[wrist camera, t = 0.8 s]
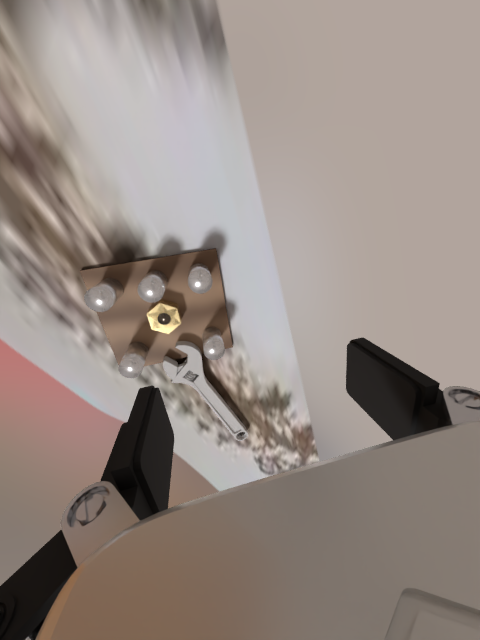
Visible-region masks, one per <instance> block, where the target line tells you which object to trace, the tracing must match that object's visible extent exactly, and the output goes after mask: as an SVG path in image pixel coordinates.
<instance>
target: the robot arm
mask: <svg viewBox="0 0 480 640" xmlns="http://www.w3.org/2000/svg"><path fill="white" fill-rule="evenodd" d="M346 389H347V392H348V394H349V395H350V396H351V397H352V398H353V399H354V400H355V401H356V402H357V403H358V404H359V405H360V407H361V408H362V409H363V410H364V411H365V412H367V414H368V415H369V416H370V417H371V418H372V419H373V420H374V421H375V422H376V423H377V424H378V425H379V426H380V427H381V428H382V429H383V430H384V431H385V432H386V433H387V434H388V435H389V436H390V437H391V438H392V439H393V441H390V442H386V443H383V444H379V445H376V446H372V447H369V448H365V449H362V450H358V451H355V452H352V453H348V454H345V455H342V456H338V457H334V458H331V459H328V460H324V461H321V462H317V463H314V464H310V465H307V466H304V467H300V468H297V469H293V470H290V471H287V472H283V473H280V474H277V475H273V476H270V477H267V478H263V479H260V480H257V481H253V482H250V483H247V484H243V485H240V486H237V487H233V488H230V489H227V490H223V491H220V492H217V493H214V494H211V495H208V496H205V497H202V498H198V499H195V500H192V501H189V502H186V503H182V504H180V505H177V506H174V507H172V508H169V509H168V499H169V489H170V478H171V468H172V457H173V446H174V433H173V430H172V427H171V424H170V421H169V418H168V414H167V411H166V408H165V405H164V402H163V399H162V396H161V393H160V390H159V388H154V386H148V387H144V388H140V389H139V391H138V394H137V397H136V400H135V402H134V405H133V408H132V411H131V414H130V417H129V420H128V422H126V423H124V424H122V426H121V428H120V431H119V433H118V436H117V439H116V441H115V444H114V447H113V449H112V452H111V454H110V457H109V460H108V462H107V465H106V468H105V470H104V473H103V476H102V478H101V481H100V482H96V483H94V484H92V485H90V486H88V487H86V488H85V489H83V490H82V491H81V492H79V493H78V494H77V495H76V496H75V497H74V498H73V499H72V501H71V502H70V503H69V505H68V506H67V507H66V509H65V511H64V513H63V515H62V519H61V530H60V531H59V532H58V533H57V534H56V535H55V536H54V537H53V538H52V539H51V540H50V541H49V542H47V543H46V544H45V545H44V546H43V547H42V548H41V549H40V550H39V551H38V552H37V553H36V554H34V555H33V556H32V557H31V558H30V559H29V560H28V561H27V562H26V563H25V564H24V565H23V566H22V567H21V568H20V569H18V570H17V571H16V572H15V573H14V574H13V575H12V576H11V577H10V578H9V579H8V580H7V581H6V582H4V583H3V584H2V585H1V586H0V640H480V391H477V390H474V389H471V388H467V387H460V386H452V387H448V388H445V390H444V391H441V390H440V389H439V383H438V382H436V381H435V380H433V379H431V378H430V377H428V376H426V375H425V374H423V373H421V372H419V371H418V370H416V369H415V368H413V367H411V366H410V365H408V364H406V363H404V362H403V361H401V360H400V359H398V358H396V357H395V356H393V355H391V354H390V353H388V352H386V351H385V350H383V349H381V348H380V347H378V346H376V345H375V344H373V343H371V342H370V341H368V340H366V339H365V338H358V339H354V340H351V341H350V343H349V344H348V345H347V371H346Z"/></svg>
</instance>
